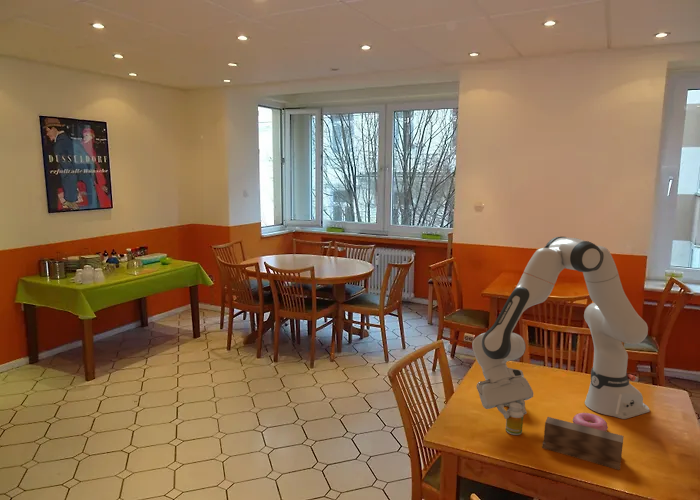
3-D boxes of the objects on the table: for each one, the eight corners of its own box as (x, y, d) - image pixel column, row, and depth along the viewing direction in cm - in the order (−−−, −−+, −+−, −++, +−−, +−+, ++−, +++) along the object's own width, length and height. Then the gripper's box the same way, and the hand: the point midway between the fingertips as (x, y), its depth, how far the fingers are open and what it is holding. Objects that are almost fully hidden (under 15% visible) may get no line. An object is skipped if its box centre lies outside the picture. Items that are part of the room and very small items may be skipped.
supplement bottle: (523, 436, 163) (525, 409, 162) (506, 434, 164) (508, 407, 163) (520, 428, 169) (522, 402, 167) (504, 426, 170) (506, 400, 168)
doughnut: (588, 439, 162) (589, 428, 162) (565, 423, 173) (566, 412, 172) (614, 435, 165) (615, 423, 165) (590, 419, 176) (591, 408, 175)
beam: (542, 447, 157) (544, 424, 155) (546, 436, 164) (548, 414, 162) (619, 470, 145) (622, 445, 144) (621, 457, 152) (623, 433, 151)
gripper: (479, 379, 166) (496, 419, 159) (525, 369, 174) (544, 407, 167) (470, 386, 171) (487, 425, 163) (515, 376, 179) (533, 413, 171)
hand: (516, 416), depth 165 cm, fingers closed on supplement bottle, 5 cm apart
